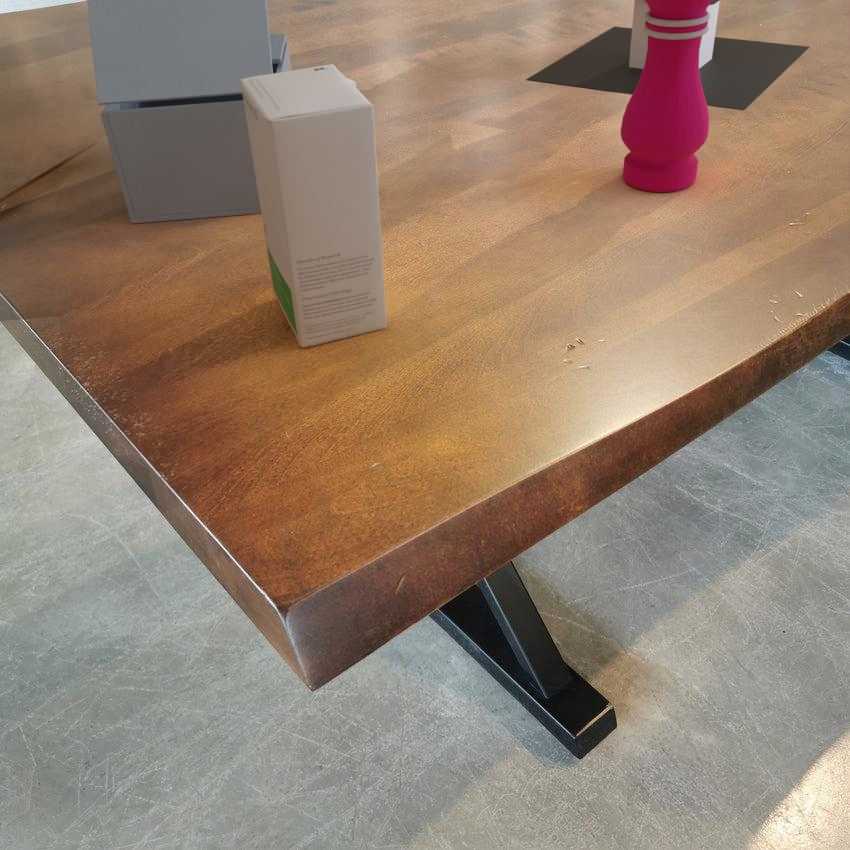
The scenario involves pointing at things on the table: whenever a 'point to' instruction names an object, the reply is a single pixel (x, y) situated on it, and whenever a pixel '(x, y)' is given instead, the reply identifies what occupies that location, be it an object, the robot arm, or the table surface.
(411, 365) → the table surface
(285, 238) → the cosmetic box
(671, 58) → the pepper mill
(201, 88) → the flap
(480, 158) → the table surface
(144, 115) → the carton
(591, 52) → the dark grey square mat
